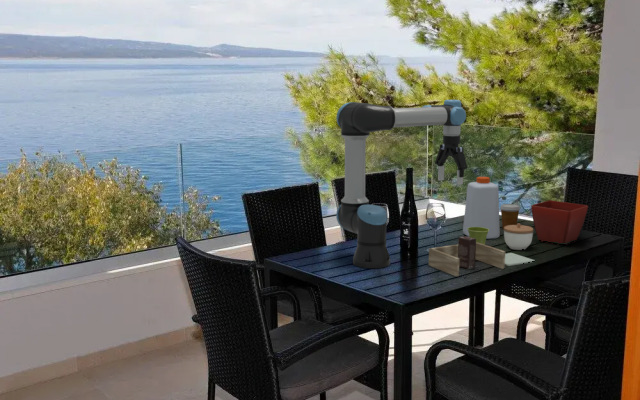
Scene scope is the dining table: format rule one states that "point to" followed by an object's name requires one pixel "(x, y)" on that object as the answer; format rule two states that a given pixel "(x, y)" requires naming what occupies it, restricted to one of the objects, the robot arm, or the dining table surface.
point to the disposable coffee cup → (509, 214)
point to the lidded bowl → (518, 236)
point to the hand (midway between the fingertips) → (450, 182)
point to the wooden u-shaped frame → (449, 259)
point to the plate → (515, 259)
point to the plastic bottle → (482, 207)
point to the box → (466, 252)
